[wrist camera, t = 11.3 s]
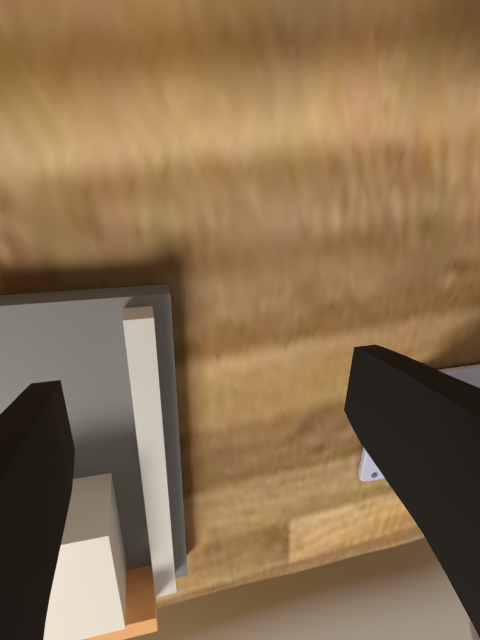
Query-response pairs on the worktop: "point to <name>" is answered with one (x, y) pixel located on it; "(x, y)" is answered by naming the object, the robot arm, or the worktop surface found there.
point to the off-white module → (89, 566)
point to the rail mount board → (112, 415)
